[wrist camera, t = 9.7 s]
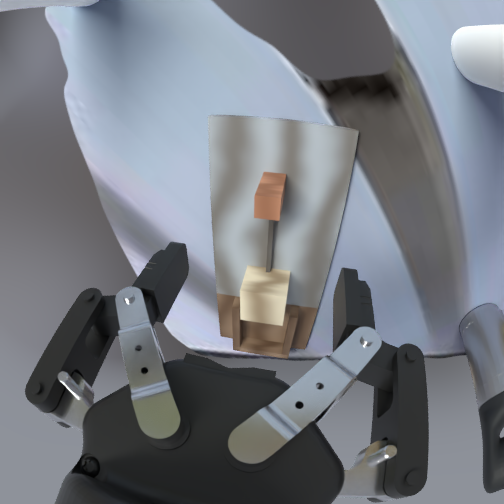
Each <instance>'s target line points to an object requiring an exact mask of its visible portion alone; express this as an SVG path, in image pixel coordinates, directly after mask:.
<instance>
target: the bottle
mask: <svg viewBox="0 0 504 504" xmlns="http://www.w3.org/2000/svg"><path fill="white" fill-rule="evenodd" d="M98 1H99V0H0V12H1V11H7V10H15V9H23V8H33V7H49V6H65V7H81V6H90V5H92V4H95V3H97V2H98Z"/></svg>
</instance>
